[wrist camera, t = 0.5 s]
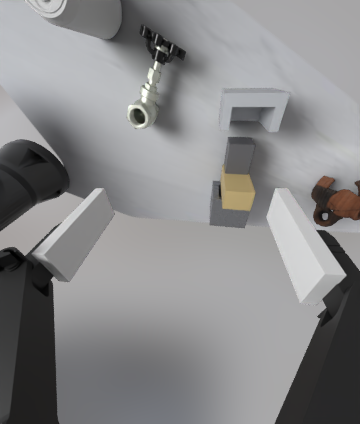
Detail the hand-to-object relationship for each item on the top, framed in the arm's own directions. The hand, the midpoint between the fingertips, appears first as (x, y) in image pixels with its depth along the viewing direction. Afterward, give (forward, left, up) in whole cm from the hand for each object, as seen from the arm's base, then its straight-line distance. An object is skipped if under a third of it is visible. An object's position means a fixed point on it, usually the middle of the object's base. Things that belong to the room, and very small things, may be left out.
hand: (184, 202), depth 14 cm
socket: (+7, +4, -24) cm, 26 cm away
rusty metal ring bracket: (+29, -12, -25) cm, 40 cm away
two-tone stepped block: (+7, -10, -22) cm, 25 cm away
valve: (-8, +6, -25) cm, 27 cm away
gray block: (+7, -15, -24) cm, 29 cm away
